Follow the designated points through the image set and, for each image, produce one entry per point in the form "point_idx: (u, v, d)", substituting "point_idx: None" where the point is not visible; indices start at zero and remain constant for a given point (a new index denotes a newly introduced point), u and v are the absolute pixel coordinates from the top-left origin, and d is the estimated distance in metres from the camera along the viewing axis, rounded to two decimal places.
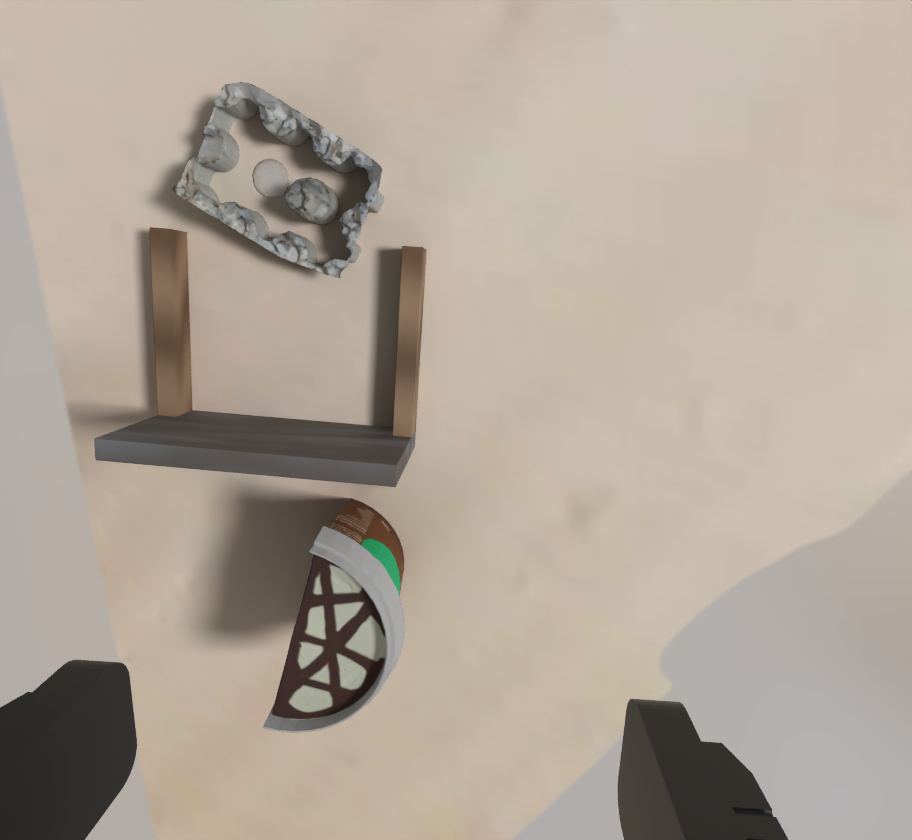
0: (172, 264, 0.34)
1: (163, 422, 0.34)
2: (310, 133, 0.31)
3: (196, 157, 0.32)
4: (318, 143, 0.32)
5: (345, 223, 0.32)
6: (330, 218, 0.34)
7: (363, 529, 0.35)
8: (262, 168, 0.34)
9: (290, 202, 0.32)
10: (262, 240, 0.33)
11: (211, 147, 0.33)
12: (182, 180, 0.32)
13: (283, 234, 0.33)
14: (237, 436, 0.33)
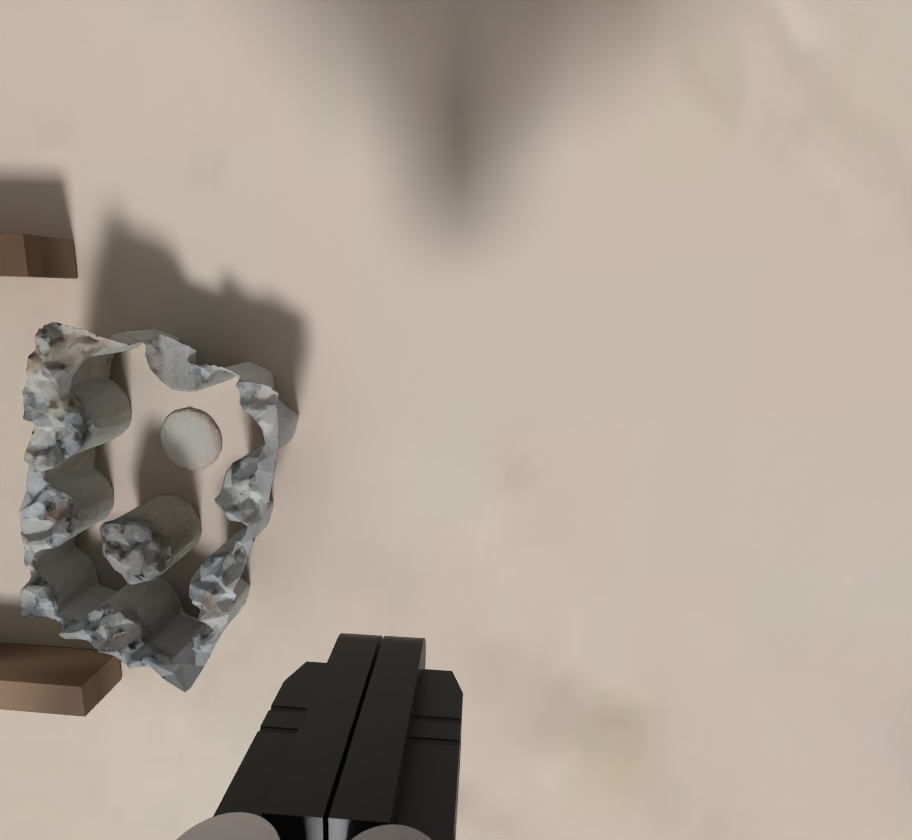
0: None
1: None
2: (225, 559, 0.18)
3: (148, 342, 0.17)
4: (216, 569, 0.18)
5: (101, 621, 0.18)
6: None
7: None
8: (200, 426, 0.19)
9: (108, 529, 0.18)
10: (38, 476, 0.18)
11: (179, 365, 0.17)
12: (84, 330, 0.16)
13: (69, 503, 0.18)
14: None
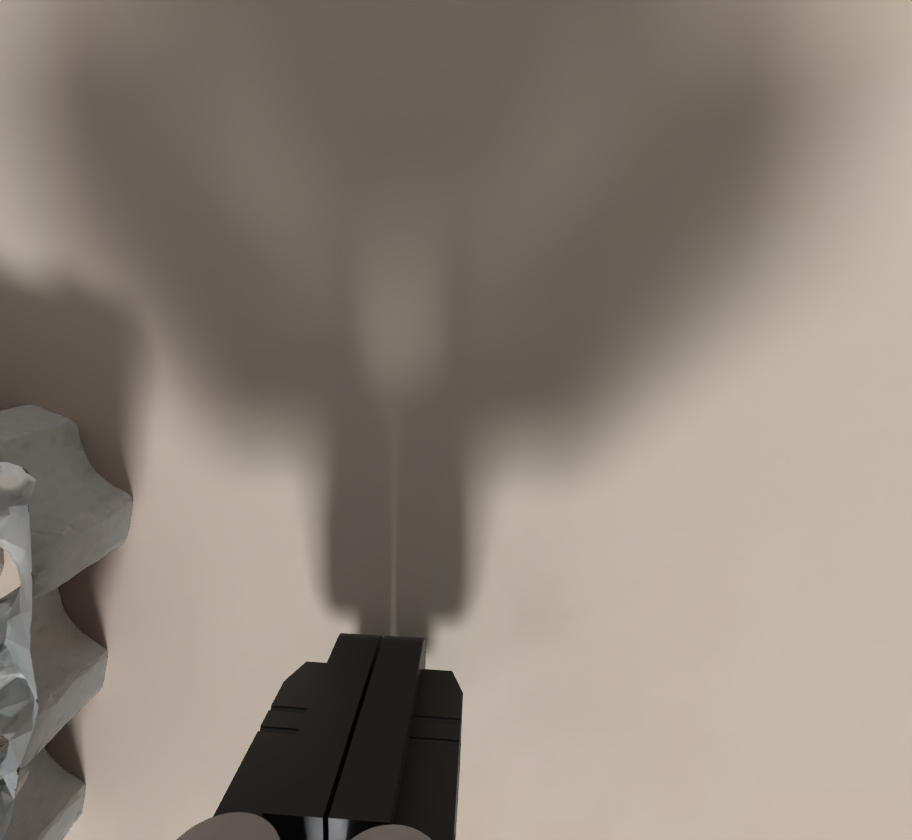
0: None
1: None
2: None
3: None
4: None
5: None
6: None
7: None
8: None
9: None
10: None
11: None
12: None
13: None
14: None
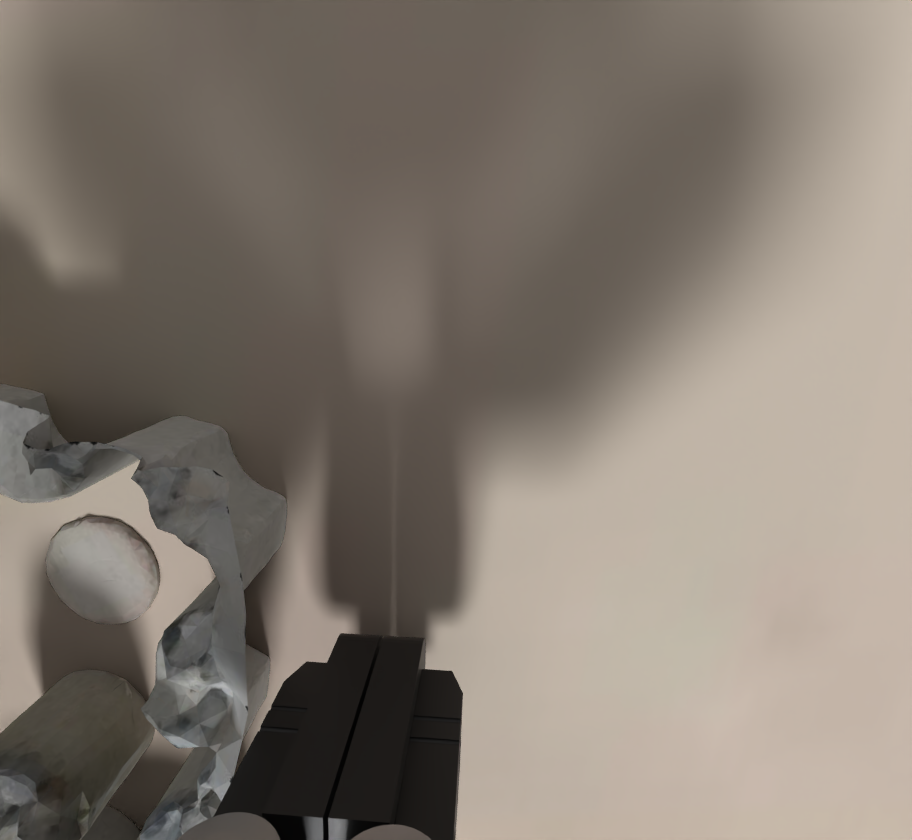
0: None
1: None
2: (185, 821, 0.09)
3: None
4: (172, 838, 0.09)
5: None
6: None
7: None
8: (113, 547, 0.11)
9: None
10: None
11: (21, 451, 0.08)
12: None
13: None
14: None
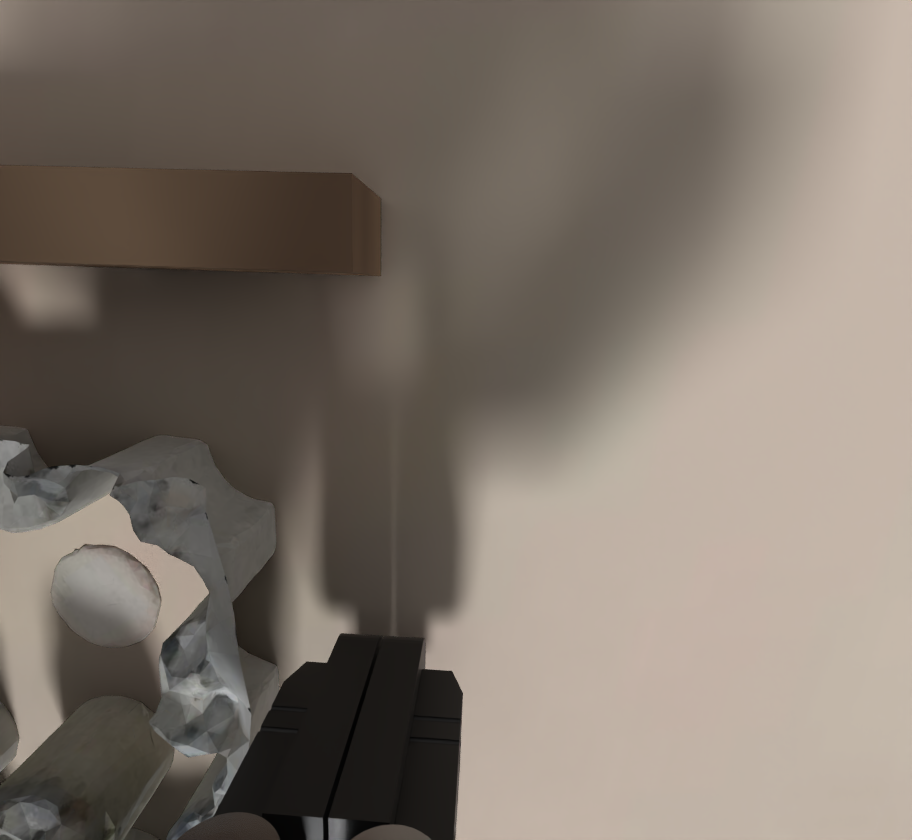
0: None
1: None
2: None
3: None
4: None
5: None
6: None
7: None
8: (113, 570, 0.11)
9: None
10: None
11: None
12: None
13: None
14: None
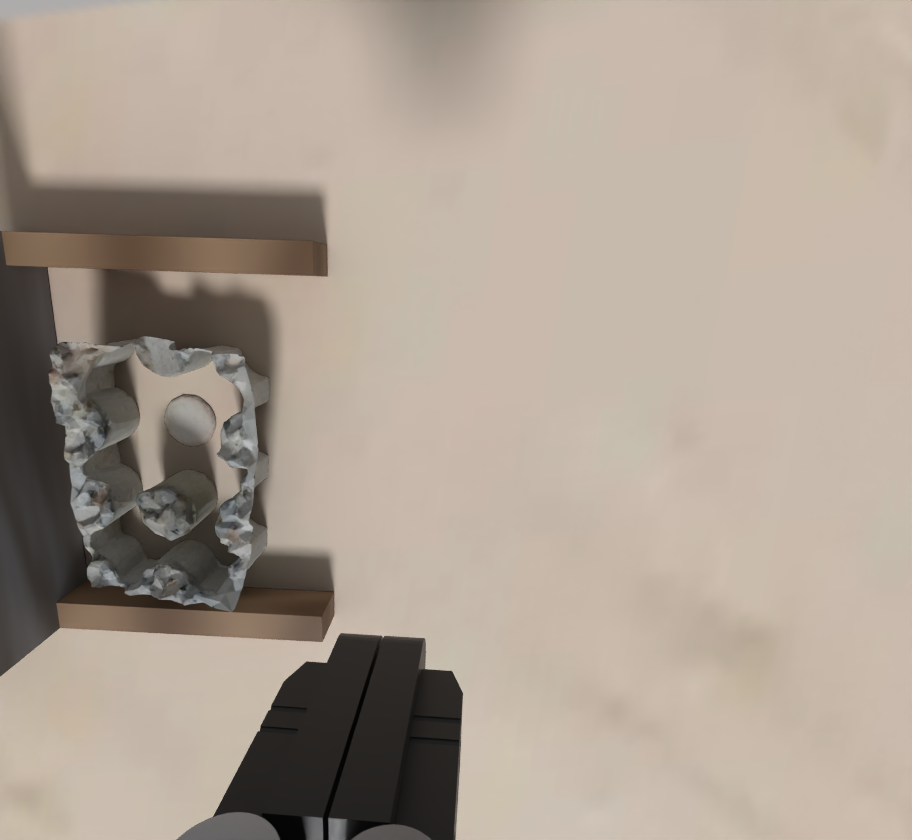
0: None
1: None
2: (237, 499, 0.22)
3: (136, 343, 0.21)
4: (232, 510, 0.22)
5: (154, 575, 0.23)
6: None
7: None
8: (195, 407, 0.24)
9: (141, 498, 0.22)
10: (78, 471, 0.22)
11: (164, 356, 0.22)
12: (85, 344, 0.21)
13: (107, 489, 0.23)
14: None
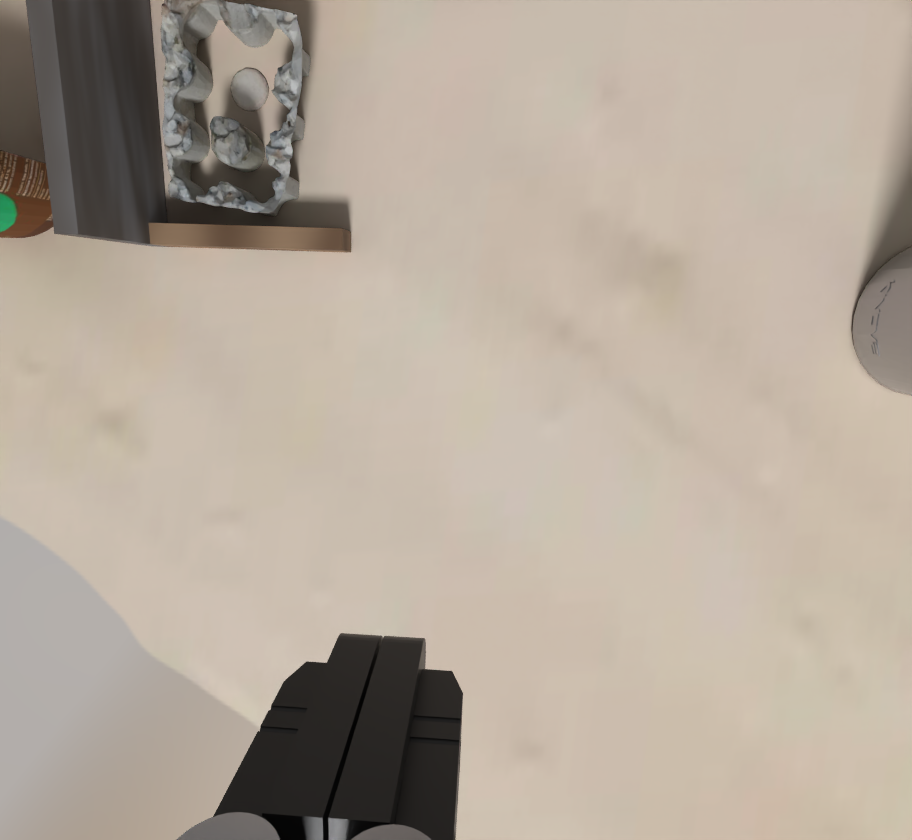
0: None
1: None
2: (283, 125, 0.31)
3: (221, 1, 0.30)
4: (279, 136, 0.31)
5: (218, 187, 0.32)
6: None
7: (25, 192, 0.31)
8: (254, 77, 0.33)
9: (214, 123, 0.31)
10: (170, 102, 0.31)
11: (239, 16, 0.30)
12: None
13: (188, 123, 0.32)
14: (93, 33, 0.28)
